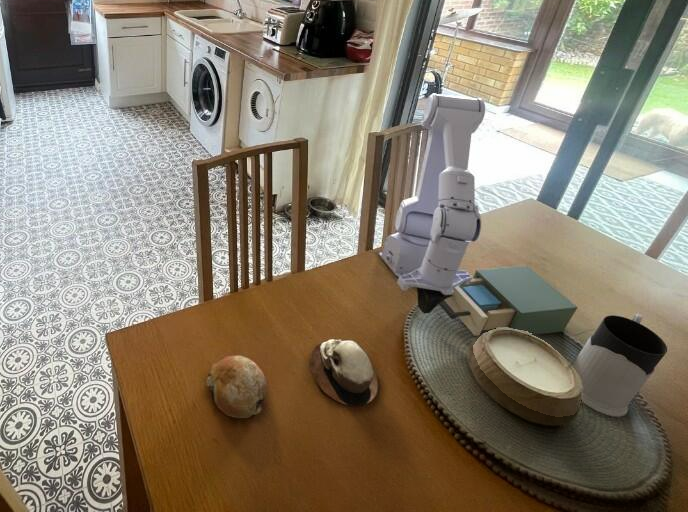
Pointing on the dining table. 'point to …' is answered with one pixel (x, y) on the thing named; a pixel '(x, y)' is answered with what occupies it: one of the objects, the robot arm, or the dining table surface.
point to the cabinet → (529, 299)
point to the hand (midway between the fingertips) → (423, 309)
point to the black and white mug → (617, 363)
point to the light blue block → (482, 298)
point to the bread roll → (237, 386)
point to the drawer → (477, 309)
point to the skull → (344, 372)
